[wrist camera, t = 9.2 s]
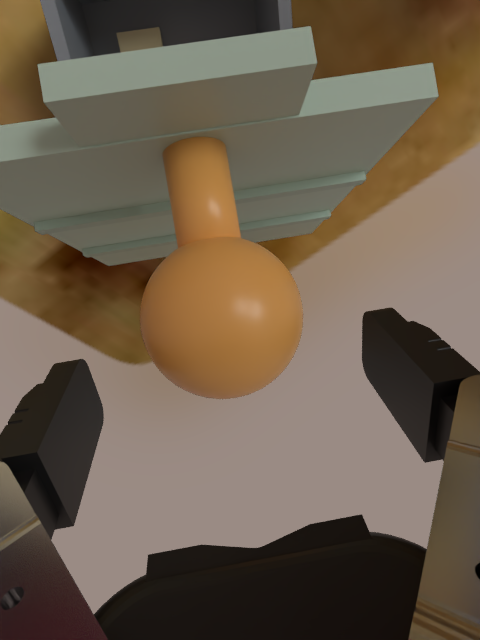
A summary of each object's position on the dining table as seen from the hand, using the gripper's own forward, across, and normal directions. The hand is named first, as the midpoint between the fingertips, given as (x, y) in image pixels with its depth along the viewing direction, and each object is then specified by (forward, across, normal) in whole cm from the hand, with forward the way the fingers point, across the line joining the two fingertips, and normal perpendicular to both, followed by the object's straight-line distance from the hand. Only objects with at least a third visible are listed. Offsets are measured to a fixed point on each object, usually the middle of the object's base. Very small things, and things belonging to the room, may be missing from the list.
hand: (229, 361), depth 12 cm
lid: (+6, 0, -4) cm, 7 cm away
